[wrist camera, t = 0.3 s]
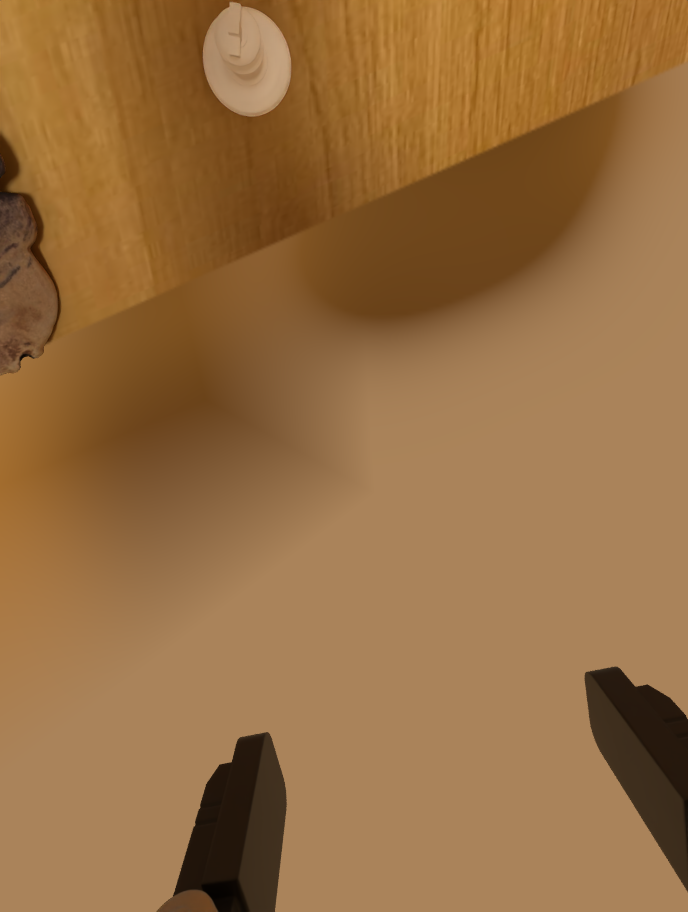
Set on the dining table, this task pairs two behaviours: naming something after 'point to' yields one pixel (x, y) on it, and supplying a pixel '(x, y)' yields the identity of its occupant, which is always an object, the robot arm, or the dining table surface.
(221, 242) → the dining table surface
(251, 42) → the chess piece
